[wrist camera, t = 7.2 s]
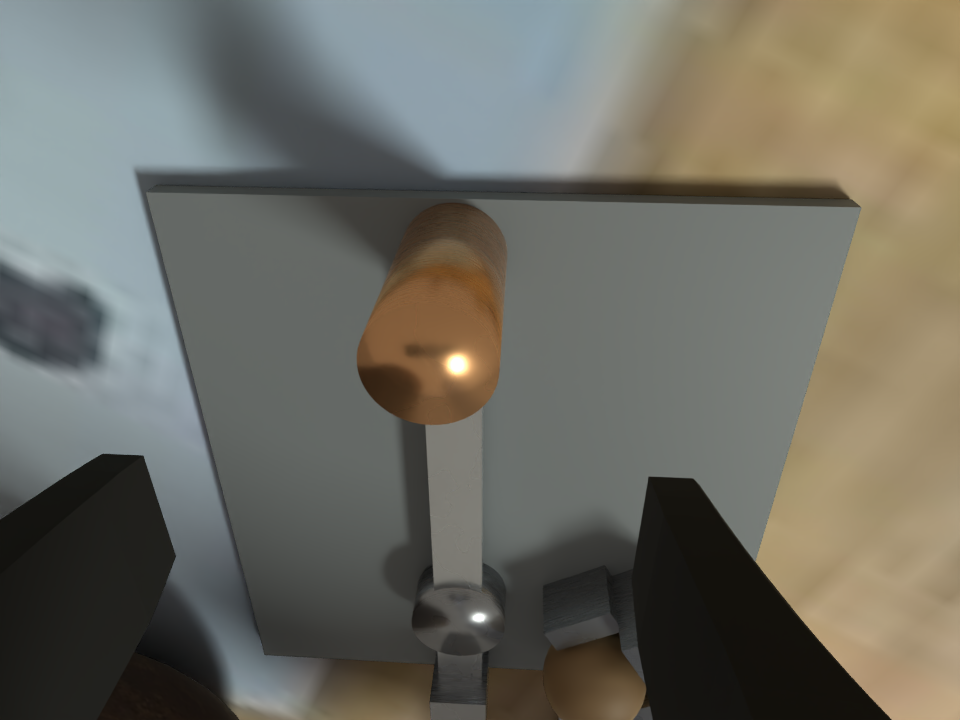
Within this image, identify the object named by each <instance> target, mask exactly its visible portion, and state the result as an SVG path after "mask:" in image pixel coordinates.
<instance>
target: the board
mask: <svg viewBox="0 0 960 720" xmlns="http://www.w3.org/2000/svg"><path fill="white" fill-rule="evenodd" d="M146 195H147V199H148V203H149V207H150V211H151V215H152V219H153V223H154V226H155V230H156V234H157V238H158V242H159V246H160V250H161V254H162V258H163V261H164V265H165V269H166V273H167V277H168V281H169V285H170V289H171V293H172V296H173V300H174V304H175V308H176V312H177V316H178V320H179V324H180V328H181V331H182V335H183V339H184V343H185V347H186V351H187V355H188V359H189V363H190V366H191V370H192V374H193V378H194V382H195V386H196V390H197V394H198V398H199V401H200V405H201V409H202V413H203V417H204V421H205V425H206V429H207V433H208V436H209V440H210V444H211V448H212V452H213V456H214V460H215V464H216V468H217V471H218V475H219V479H220V483H221V487H222V491H223V495H224V499H225V502H226V506H227V510H228V514H229V518H230V522H231V526H232V530H233V534H234V537H235V541H236V545H237V549H238V553H239V557H240V561H241V565H242V569H243V572H244V576H245V580H246V584H247V588H248V592H249V596H250V600H251V604H252V607H253V611H254V615H255V619H256V623H257V627H258V631H259V635H260V639H261V642H262V646H263V650H264V654H265V655H274V656H292V657H311V658H329V659H347V660H365V661H383V662H401V663H419V664H435V657H436V651H435V650H433V649H431V648H429V647H428V646H426V645H425V644H423V643H422V642H421V641H420V640H419V639H418V638H417V636H416V635H415V633H414V631H413V629H412V624H411V623H412V615H413V609H414V603H415V597H416V591H417V585H418V580H419V577H420V575H421V574H422V572H423V571H424V570H425V569H426V568H427V567H428V566H430V565H431V564H433V559H432V540H431V521H430V502H429V483H428V465H427V446H426V427H425V424H418V423H413V422H410V421H406V420H403V419H401V418H399V417H396V416H395V415H393V414H391V413H389V412H388V411H386V410H385V409H383V408H382V407H381V406H380V405H378V404H377V403H376V402H375V401H374V400H373V399H372V397H371V396H370V395H369V394H368V392H367V391H366V389H365V388H364V386H363V384H362V382H361V379H360V377H359V374H358V369H357V349H358V346H359V342H360V340H361V337H362V335H363V332H364V330H365V328H366V325H367V323H368V320H369V318H370V316H371V313H372V311H373V308H374V306H375V304H376V301H377V299H378V296H379V294H380V291H381V289H382V287H383V284H384V282H385V279H386V277H387V275H388V272H389V270H390V267H391V265H392V263H393V260H394V258H395V255H396V253H397V251H398V248H399V246H400V243H401V241H402V239H403V236H404V234H405V232H406V229H407V227H408V226H409V224H410V223H411V222H412V220H413V219H414V218H415V217H416V216H417V215H419V214H420V213H421V212H423V211H424V210H426V209H428V208H430V207H432V206H435V205H438V204H443V203H461V204H466V205H469V206H472V207H475V208H477V209H479V210H481V211H482V212H484V213H485V214H487V215H488V216H489V217H490V218H491V219H493V221H494V222H495V223H496V224H497V225H498V227H499V228H500V230H501V232H502V234H503V236H504V238H505V241H506V246H507V269H506V283H505V298H504V313H503V327H502V342H501V357H500V371H499V379H498V383H497V386H496V388H495V391H494V393H493V395H492V396H491V398H490V399H489V400H488V402H487V403H486V404H485V405H484V406H483V563H485V564H487V565H488V566H490V567H492V568H493V569H494V570H495V571H497V572H498V573H499V574H500V576H501V577H502V579H503V581H504V583H505V586H506V605H505V630H504V635H503V637H502V639H501V641H500V642H499V643H498V644H497V645H496V646H495V647H493V648H492V649H490V650H489V667H491V668H509V669H527V670H543V667H544V662H545V658H546V655H547V652H548V650H549V648H550V646H551V645H552V644H551V642H550V641H549V640H548V638H547V637H546V636H545V635H544V619H543V585H546V584H549V583H552V582H555V581H558V580H561V579H564V578H567V577H570V576H573V575H576V574H579V573H582V572H585V571H588V570H591V569H594V568H597V567H600V566H603V565H605V566H606V568H607V569H608V571H609V572H610V574H611V575H612V576H613V575H616V574H619V573H622V572H625V571H628V570H631V569H633V566H634V560H635V554H636V549H637V543H638V537H639V531H640V525H641V519H642V513H643V507H644V501H645V495H646V489H647V483H648V477H649V476H650V477H674V478H693V479H694V480H695V481H696V482H697V483H698V484H699V485H700V486H701V488H702V489H703V491H704V492H705V493H706V495H707V496H708V498H709V499H710V501H711V502H712V503H713V505H714V506H715V508H716V509H717V511H718V512H719V513H720V515H721V516H722V518H723V519H724V520H725V522H726V523H727V525H728V526H729V527H730V529H731V530H732V531H733V533H734V534H735V536H736V537H737V538H738V540H739V541H740V542H741V544H742V545H743V546H744V548H745V549H746V550H747V552H748V553H749V554H750V556H751V557H752V558H753V560H754V561H756V558H757V554H758V551H759V548H760V544H761V541H762V538H763V534H764V531H765V528H766V524H767V521H768V518H769V514H770V511H771V507H772V504H773V501H774V497H775V494H776V491H777V487H778V484H779V481H780V477H781V474H782V471H783V467H784V464H785V461H786V457H787V454H788V451H789V447H790V444H791V441H792V437H793V434H794V431H795V427H796V424H797V421H798V417H799V414H800V411H801V407H802V404H803V401H804V397H805V394H806V391H807V387H808V384H809V381H810V377H811V374H812V371H813V367H814V364H815V361H816V357H817V354H818V351H819V347H820V344H821V341H822V337H823V334H824V331H825V327H826V324H827V321H828V317H829V314H830V311H831V307H832V304H833V301H834V297H835V294H836V291H837V287H838V284H839V281H840V277H841V274H842V271H843V267H844V264H845V261H846V257H847V254H848V251H849V247H850V244H851V241H852V237H853V234H854V231H855V227H856V224H857V221H858V217H859V214H860V211H861V207H860V206H859V205H858V204H857V203H855V202H854V201H853V200H852V199H806V198H757V197H708V196H659V195H610V194H561V193H513V192H464V191H415V190H366V189H317V188H268V187H220V186H171V185H156V186H154V187H153V188H151V189H150V190H149V191H147V192H146Z"/></svg>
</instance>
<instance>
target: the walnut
mask: <svg viewBox="0 0 960 720" xmlns="http://www.w3.org/2000/svg"><path fill="white" fill-rule="evenodd" d="M543 684H544V688H545V693H546V696H547V698H548V701H549V703H550V705H551V707H552V708H553V710H554V711H555V713H556V714H557V715H558V716H559V717H560V719H561V720H633V719H634V718H635V717H636V715H637V714H638V712H639V710H640V709H641V707H642V704H643V702H644V699H645V694H646V685H645V683H644V682H643V680H642V679H641V678H640V676H639V675H638V673H637V672H636V671H635V669H634V668H633V666H632V665H631V664H630V662H629V661H628V659H627V658H626V657H625V655H624V654H623V652H622V650H621V643H620V635H619V633H616V634H613V635H609V636H606V637H603V638H599V639H596V640H592V641H589V642H586V643H582V644H579V645H576V646H572V647H569V648H566V649H562V650H559V651H557V650H556V649H555V647H554V646H553V645H551V646H550V648H549V650H548V652H547V655H546V658H545V662H544V667H543Z"/></svg>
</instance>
